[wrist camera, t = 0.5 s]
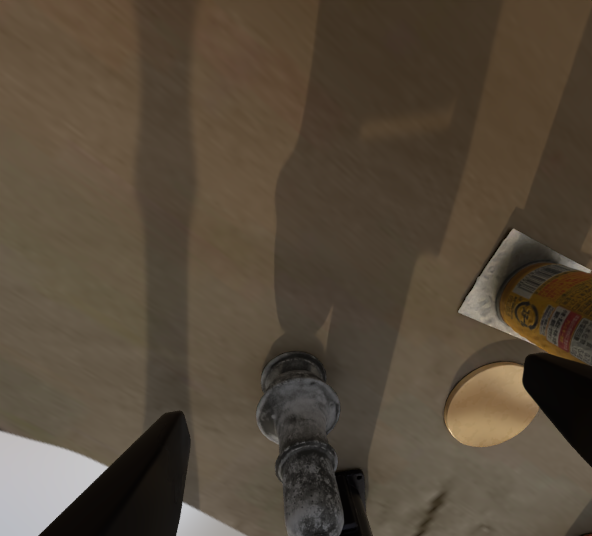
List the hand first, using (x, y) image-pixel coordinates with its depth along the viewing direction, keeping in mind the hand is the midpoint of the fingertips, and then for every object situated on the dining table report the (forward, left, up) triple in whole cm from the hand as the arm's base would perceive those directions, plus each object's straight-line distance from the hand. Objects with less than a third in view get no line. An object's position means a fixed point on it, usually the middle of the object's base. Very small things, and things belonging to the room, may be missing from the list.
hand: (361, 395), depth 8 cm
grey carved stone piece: (-10, +2, -14) cm, 17 cm away
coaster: (-16, -16, -14) cm, 27 cm away
